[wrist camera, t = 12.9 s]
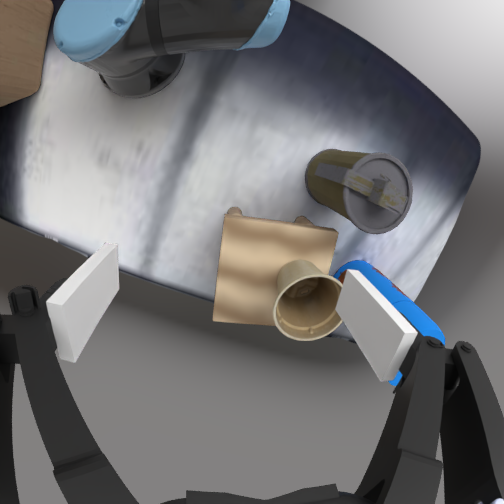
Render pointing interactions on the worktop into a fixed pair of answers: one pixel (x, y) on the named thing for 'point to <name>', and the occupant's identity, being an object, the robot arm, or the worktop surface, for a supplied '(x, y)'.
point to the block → (22, 46)
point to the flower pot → (306, 302)
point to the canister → (361, 187)
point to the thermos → (394, 301)
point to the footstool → (263, 263)
